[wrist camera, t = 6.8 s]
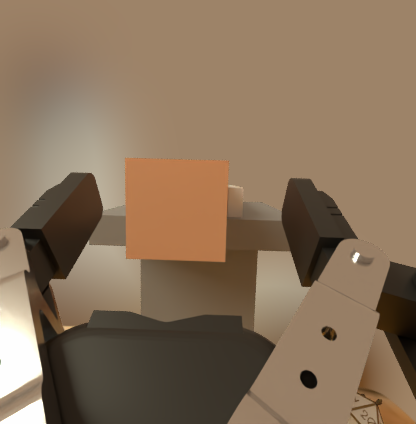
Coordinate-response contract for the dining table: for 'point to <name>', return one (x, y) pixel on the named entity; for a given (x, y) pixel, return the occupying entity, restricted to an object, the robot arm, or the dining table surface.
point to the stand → (205, 265)
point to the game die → (365, 411)
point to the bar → (176, 209)
